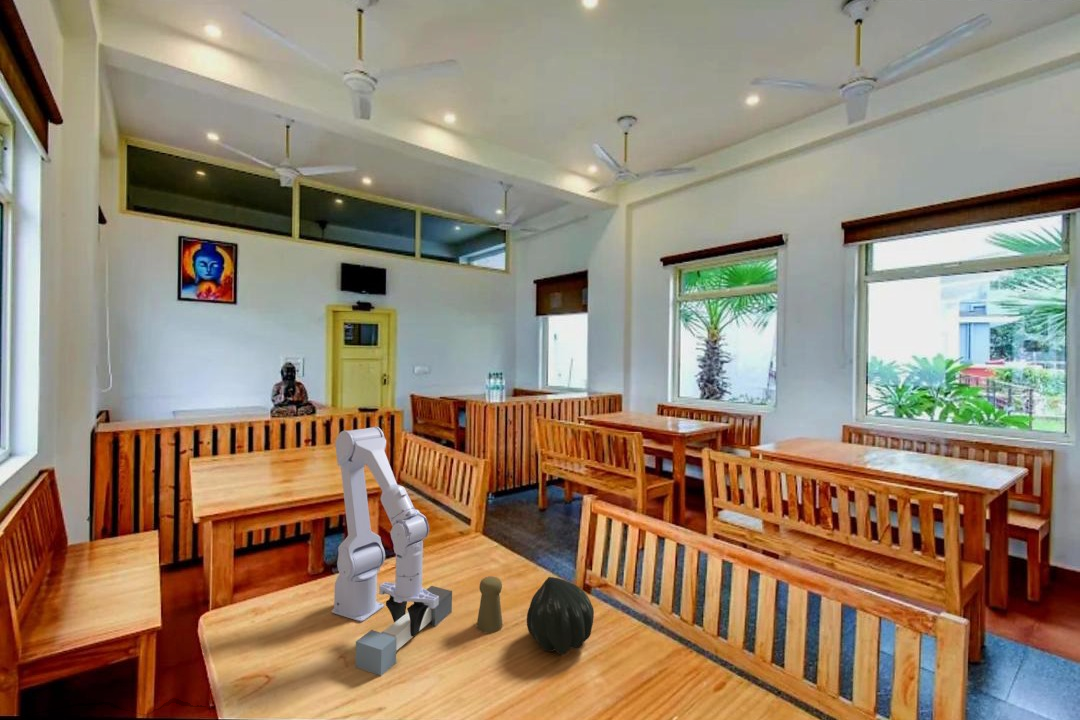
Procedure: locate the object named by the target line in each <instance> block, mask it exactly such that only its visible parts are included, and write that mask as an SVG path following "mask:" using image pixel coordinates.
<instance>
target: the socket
mask: <svg viewBox="0 0 1080 720" xmlns="http://www.w3.org/2000/svg"><path fill="white" fill-rule="evenodd" d="M396 639H397V638H396V637H393V636H390V635H387V634H384V633H381V632H379V631H377V630H374V629H370V630H369V631H368V632H367V633H365V634H364V635H362V636H361V637H360V638H358V639H357V640H356V641H355V668H358V669H361V670H363V671H367V672H369V673H372V674H373V675H377V676H380V677H381V676H383V675H384V674H385V673H386V672H387V671H388V670H390V669H391V668H392V667H393V666H394V665H395V664H396V663H397V651H396Z"/></svg>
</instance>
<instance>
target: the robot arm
mask: <svg viewBox="0 0 1080 720" xmlns="http://www.w3.org/2000/svg"><path fill="white" fill-rule="evenodd" d="M334 444H335V455H336V462H337V465H338V466H339V467H340V472H341V474H340V475H341V482H342V489H343V500H344V509H345V518H346V519H345V520H346V526H347V537H346V538H345V539H344V540H343V541H342V542H341V543H340V544H339V546H338V547H337V549H338V550H337V551H338V556H337V561H336V565H337V571H338V572H339V573H338V576H337V577H336V580H335V582H334V583H335V584H334V594H333V595H334V597H333V598H334V601H333V605H334V606H333V607H334V608H333V609H332V610H331V613H332V614H334V615H338V616H341V617H344V618H349V619H351V620H355V621H357V622H364V621H366V620H368V619H369V618H370V617H371V616H373V614H375V613H377V612H378V611H380V610H381V609H382V608H384V607H385V606H386V607H387V609H388V611H389V613H390V615H391V617H392V620H393V623H394V622H396V621H397V620H398V619H400V618H401V617H402V616H403V615H405V614H406V613H407V612H408V613H409V616H410V633H411V636H413V637H415V636H416V635H418V634H419V633H420V631H421V630H420V626H421V622H422V619H423V616H424V614H425V612H426V610H427V608H428V606H430V608H432V609H434V608H435V607H436V606H438V605H439V596H436V595H434V594H432V593H430V592H429V591H427V590H426V589H427V588H426V589H425V588H424V587H423V562H424V561H423V555H424V540H426V539H427V537H428V536H429V533H430V525H429V522H428V519H427V517H426V516H425V515H424V514H423V513H421V512H420V510H419V509H416V508H415V506H414V505H413V502H412V499H411V498H410V496H409V494H408V491H407V490H406V488H405V487H404V486H402V485H400V484H398V483H397V480H396V478H395V475H394V472H393V470H392V467H391V465H390V462H389V459H388V456H387V453H386V447H387V439H386V438H385V434H384V432H383V430H382V429H381V428H380V427H379V426H372V427H367V428H360V429H351V430H342V431H341V432H339V434H338V436H337V437H336V439H335V441H334ZM366 465H367V467H368V469H369V471H370V473H371V474H372V476H373V477H374V480H375V481H376V483H377V485H378V486H379V488H380V490H381V492H382V493H381V495H380V502H381V504H382V506H383V508H384V511H385V512H386V515H387V518H388V519H389V521H390V524H391V526H392V528H391V530H390V538H391V541H392V544H393V550H394V551H393V552H394V554H395V573H394V575H395V576H394V577H395V582H387V581H384V582H382V584H380V585H379V587H378V573H379V572H380V571H381V569H380V568H381V567H382V566H383V565H384V564H385V561H386V552H385V548H384V546H383V544H382V540H381V539H382V538H381V536H380V535H379V534H377V533H375V532H373V531H372V527H371V518H370V511H369V503H368V493H367V484H366V477H365V467H366ZM377 590H378V591H377ZM377 592H378V593H377ZM377 594H379V595H388V596H389V599H387V600H386V601H385V604H384V603H383V602H379V601H377V597H378V596H377ZM408 602H413V604H411V605H410V606H408V607H407V605H408ZM419 630H420V631H419ZM413 637H412V638H413Z"/></svg>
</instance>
